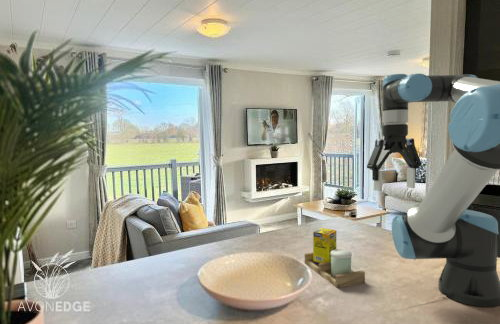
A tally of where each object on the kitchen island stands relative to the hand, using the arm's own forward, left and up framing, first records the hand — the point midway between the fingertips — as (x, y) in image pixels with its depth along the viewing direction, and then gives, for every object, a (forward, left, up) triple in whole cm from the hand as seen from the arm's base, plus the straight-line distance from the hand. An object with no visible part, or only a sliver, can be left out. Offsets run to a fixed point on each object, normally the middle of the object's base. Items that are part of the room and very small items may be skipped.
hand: (394, 189), depth 110 cm
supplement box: (+8, +21, -25) cm, 34 cm away
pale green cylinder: (-2, +21, -26) cm, 34 cm away
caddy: (+3, +21, -27) cm, 34 cm away
